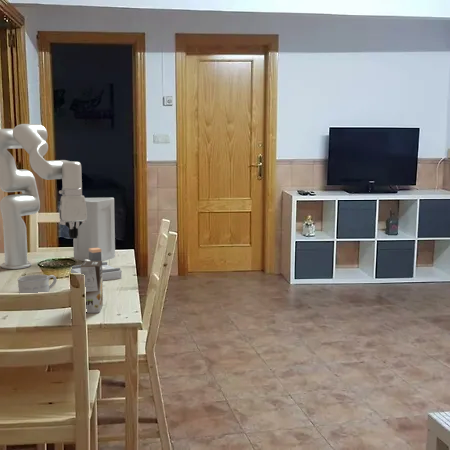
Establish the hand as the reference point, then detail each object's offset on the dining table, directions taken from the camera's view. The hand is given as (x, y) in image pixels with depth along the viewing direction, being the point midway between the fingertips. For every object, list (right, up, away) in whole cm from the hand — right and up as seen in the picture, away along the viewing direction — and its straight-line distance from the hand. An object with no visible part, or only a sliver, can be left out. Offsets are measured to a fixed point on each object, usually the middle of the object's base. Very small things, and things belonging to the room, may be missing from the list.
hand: (73, 238), depth 254 cm
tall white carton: (0, -11, +41) cm, 43 cm away
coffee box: (+16, -24, -38) cm, 47 cm away
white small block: (+7, -13, +7) cm, 16 cm away
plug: (+5, -14, +20) cm, 25 cm away
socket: (+7, -16, +8) cm, 19 cm away
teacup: (-7, -21, -24) cm, 33 cm away
